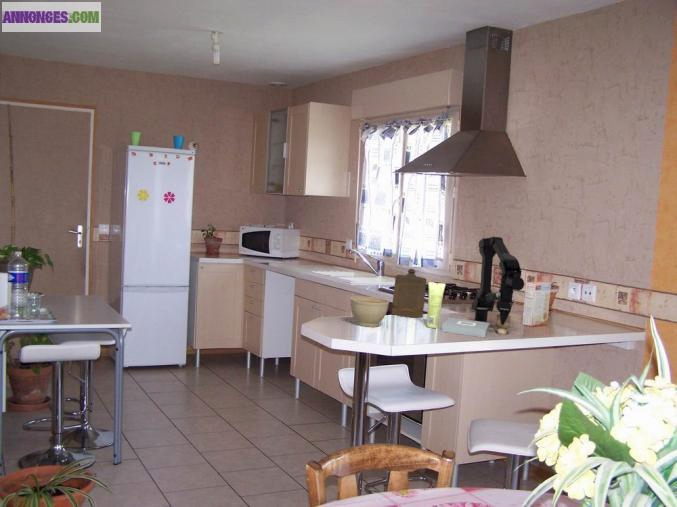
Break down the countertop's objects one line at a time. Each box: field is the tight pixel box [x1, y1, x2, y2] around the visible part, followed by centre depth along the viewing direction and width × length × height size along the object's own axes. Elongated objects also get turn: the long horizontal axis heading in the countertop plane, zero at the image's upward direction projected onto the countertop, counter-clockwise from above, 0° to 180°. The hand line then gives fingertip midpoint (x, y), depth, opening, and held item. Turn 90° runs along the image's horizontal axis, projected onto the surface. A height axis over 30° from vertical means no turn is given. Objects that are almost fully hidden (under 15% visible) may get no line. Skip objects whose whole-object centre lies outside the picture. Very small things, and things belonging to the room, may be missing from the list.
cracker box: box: [521, 281, 552, 328], centre depth 340 cm, size 14×6×21 cm, turn 134°
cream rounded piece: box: [495, 313, 512, 336], centre depth 307 cm, size 6×6×8 cm
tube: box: [426, 281, 446, 329], centre depth 307 cm, size 6×5×20 cm
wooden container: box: [391, 268, 427, 319], centre depth 335 cm, size 15×15×22 cm
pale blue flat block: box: [441, 317, 491, 338], centre depth 307 cm, size 22×18×3 cm
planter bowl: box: [350, 296, 390, 328], centre depth 298 cm, size 16×16×11 cm
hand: (502, 322), depth 307 cm, fingers open, 9 cm apart
